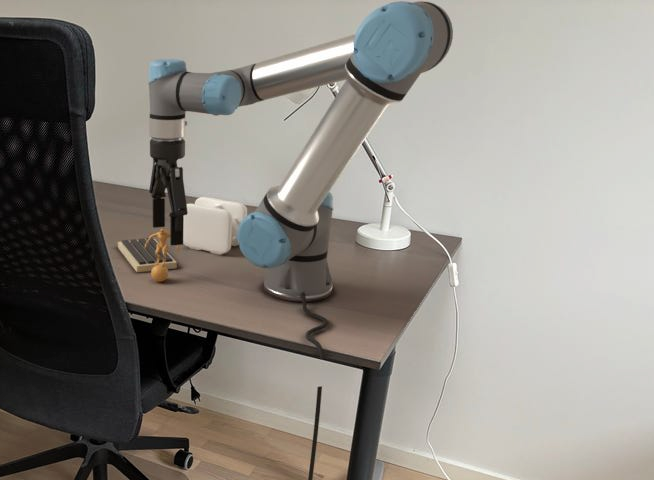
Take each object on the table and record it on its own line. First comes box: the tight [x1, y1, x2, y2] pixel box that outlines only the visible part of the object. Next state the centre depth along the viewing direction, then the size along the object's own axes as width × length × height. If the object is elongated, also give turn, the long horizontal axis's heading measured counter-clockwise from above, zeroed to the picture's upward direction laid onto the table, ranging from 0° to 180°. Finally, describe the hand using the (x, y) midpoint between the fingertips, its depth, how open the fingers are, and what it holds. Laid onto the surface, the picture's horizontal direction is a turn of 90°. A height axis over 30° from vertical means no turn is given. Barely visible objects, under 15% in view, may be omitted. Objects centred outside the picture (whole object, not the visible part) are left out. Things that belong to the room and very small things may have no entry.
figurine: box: [144, 228, 180, 283], centre depth 170 cm, size 8×6×12 cm
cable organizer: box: [183, 196, 248, 256], centre depth 192 cm, size 15×11×12 cm
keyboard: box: [117, 237, 178, 273], centre depth 186 cm, size 19×10×2 cm, turn 18°
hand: (167, 235), depth 166 cm, fingers open, 13 cm apart
